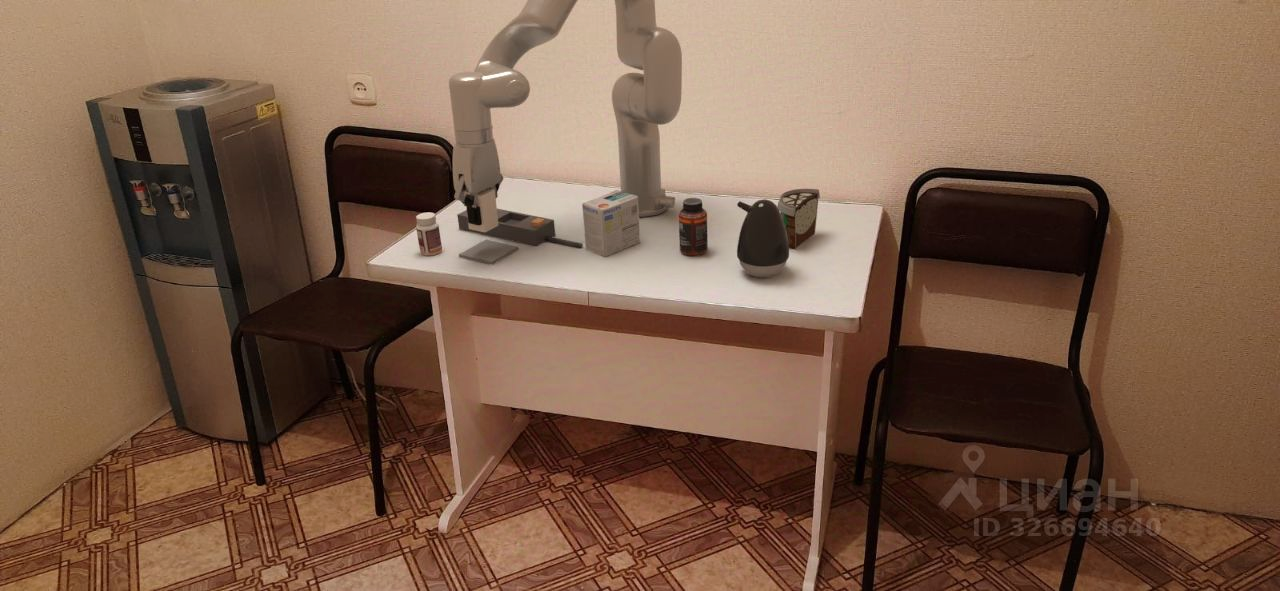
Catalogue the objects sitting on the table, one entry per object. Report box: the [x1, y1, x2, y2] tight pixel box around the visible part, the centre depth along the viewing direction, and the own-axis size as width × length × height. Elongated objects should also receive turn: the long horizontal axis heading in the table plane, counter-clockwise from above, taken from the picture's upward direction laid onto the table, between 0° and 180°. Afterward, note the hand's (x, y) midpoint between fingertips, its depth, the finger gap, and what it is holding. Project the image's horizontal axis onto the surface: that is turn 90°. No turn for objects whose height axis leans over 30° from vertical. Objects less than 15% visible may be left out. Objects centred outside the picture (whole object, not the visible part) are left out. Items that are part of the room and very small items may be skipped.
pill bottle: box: [415, 212, 443, 257], centre depth 194 cm, size 5×5×8 cm
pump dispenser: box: [736, 199, 790, 278], centre depth 176 cm, size 10×10×15 cm
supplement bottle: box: [678, 197, 709, 257], centre depth 187 cm, size 6×6×11 cm
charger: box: [465, 188, 498, 232], centre depth 189 cm, size 4×4×8 cm
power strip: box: [456, 208, 584, 249], centre depth 200 cm, size 32×7×4 cm, turn 59°
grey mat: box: [458, 239, 519, 265], centre depth 193 cm, size 9×9×1 cm
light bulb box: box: [582, 189, 641, 258], centre depth 192 cm, size 11×7×11 cm, turn 134°
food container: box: [776, 188, 821, 250], centre depth 191 cm, size 12×6×10 cm, turn 145°
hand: (483, 219), depth 190 cm, fingers closed on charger, 4 cm apart
